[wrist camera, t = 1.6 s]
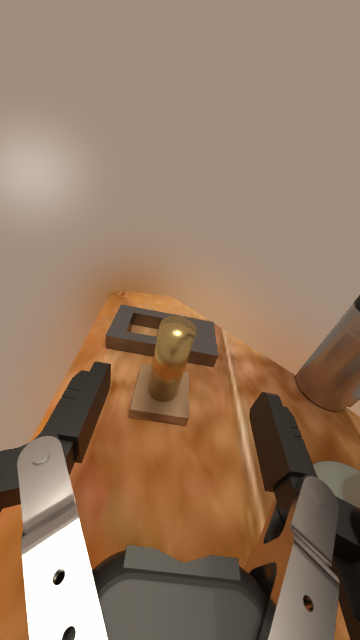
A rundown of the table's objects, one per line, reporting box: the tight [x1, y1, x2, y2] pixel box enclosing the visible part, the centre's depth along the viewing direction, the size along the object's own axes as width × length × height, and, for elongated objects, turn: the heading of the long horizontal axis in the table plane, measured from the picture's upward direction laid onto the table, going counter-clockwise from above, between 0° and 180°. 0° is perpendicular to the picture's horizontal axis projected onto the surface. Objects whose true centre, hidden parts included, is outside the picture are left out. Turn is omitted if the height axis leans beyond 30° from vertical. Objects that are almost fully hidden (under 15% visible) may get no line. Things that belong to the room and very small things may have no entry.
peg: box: [148, 316, 197, 402], centre depth 29 cm, size 4×4×12 cm
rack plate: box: [106, 305, 218, 367], centre depth 43 cm, size 20×10×3 cm, turn 87°
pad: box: [129, 364, 189, 426], centre depth 33 cm, size 8×8×2 cm
